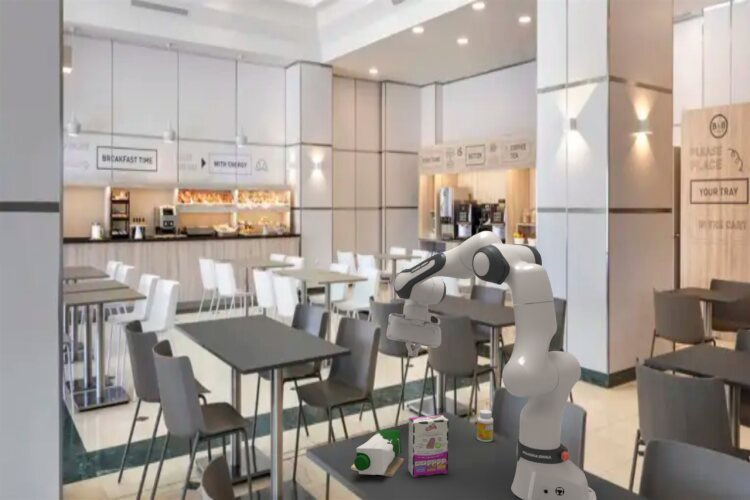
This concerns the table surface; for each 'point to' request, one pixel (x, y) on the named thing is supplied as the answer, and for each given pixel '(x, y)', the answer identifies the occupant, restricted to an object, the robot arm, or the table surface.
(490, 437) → the supplement bottle
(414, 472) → the candy bar box
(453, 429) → the table surface
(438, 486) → the table surface
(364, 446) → the soya milk
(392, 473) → the oak board
